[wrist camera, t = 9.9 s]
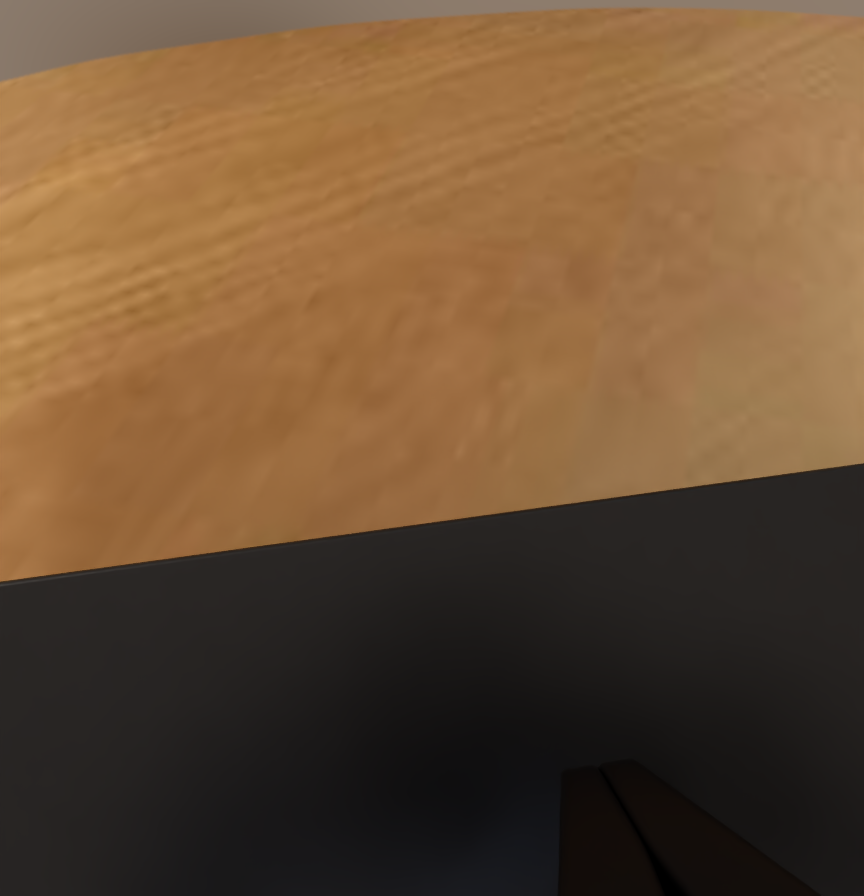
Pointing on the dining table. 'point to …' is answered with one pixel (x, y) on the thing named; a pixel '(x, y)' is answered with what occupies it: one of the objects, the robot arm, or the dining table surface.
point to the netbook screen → (439, 697)
